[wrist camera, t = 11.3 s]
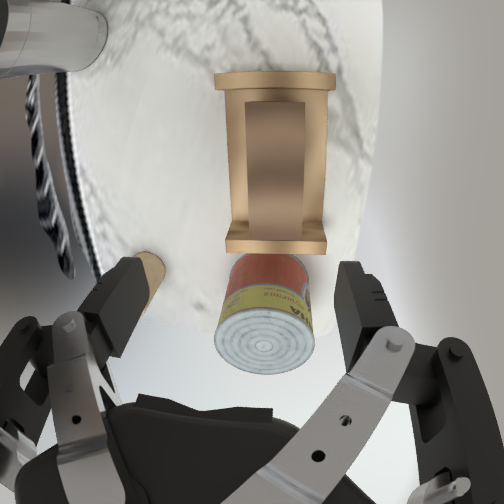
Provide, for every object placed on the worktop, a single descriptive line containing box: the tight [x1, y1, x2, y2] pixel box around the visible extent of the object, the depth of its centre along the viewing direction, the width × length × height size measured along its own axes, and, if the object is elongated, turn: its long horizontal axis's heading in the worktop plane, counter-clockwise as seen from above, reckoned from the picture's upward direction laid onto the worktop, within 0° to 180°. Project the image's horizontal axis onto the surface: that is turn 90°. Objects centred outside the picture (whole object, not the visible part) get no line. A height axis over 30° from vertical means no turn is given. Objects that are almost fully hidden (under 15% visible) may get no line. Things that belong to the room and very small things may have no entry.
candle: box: [135, 252, 165, 317], centre depth 38 cm, size 6×6×10 cm
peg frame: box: [214, 71, 336, 255], centre depth 29 cm, size 11×19×6 cm, turn 2°
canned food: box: [214, 253, 315, 375], centre depth 36 cm, size 11×11×12 cm
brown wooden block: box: [245, 101, 305, 241], centre depth 26 cm, size 13×5×4 cm, turn 2°
